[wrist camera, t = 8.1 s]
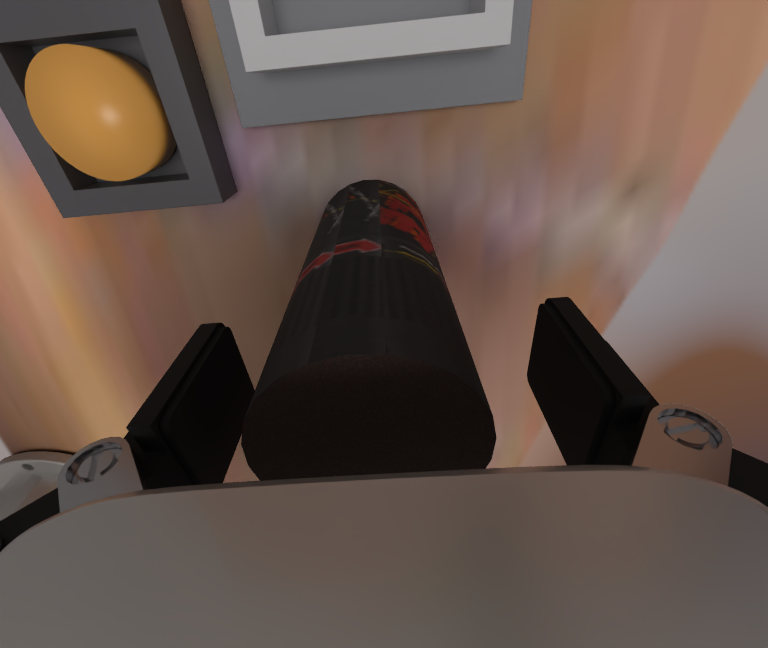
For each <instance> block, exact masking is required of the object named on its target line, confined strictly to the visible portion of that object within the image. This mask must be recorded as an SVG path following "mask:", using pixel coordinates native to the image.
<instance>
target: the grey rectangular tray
mask: <svg viewBox="0 0 768 648" xmlns="http://www.w3.org/2000/svg"><path fill="white" fill-rule="evenodd" d="M209 3H210V7H211V11H212V15H213V18H214V22H215V26H216V30H217V34H218V37H219V41H220V45H221V49H222V53H223V56H224V60H225V64H226V68H227V71H228V75H229V79H230V83H231V87H232V90H233V94H234V98H235V102H236V106H237V109H238V113H239V117H240V121H241V125H242V128H248V127H257V126H267V125H277V124H287V123H297V122H307V121H317V120H327V119H337V118H346V117H356V116H366V115H376V114H386V113H396V112H406V111H416V110H426V109H436V108H445V107H455V106H465V105H475V104H485V103H495V102H505V101H515V100H522V96H523V86H524V76H525V66H526V57H527V47H528V37H529V27H530V17H531V7H532V0H209Z"/></svg>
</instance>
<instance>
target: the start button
mask: <svg viewBox="0 0 768 648" xmlns="http://www.w3.org/2000/svg"><path fill="white" fill-rule="evenodd" d="M25 95H26V100H27V105H28V108H29V111H30V114H31V116H32V118H33V120H34V123H35V125H36V126H37V128H38V130H39V131H40V133H41V135H42V136H43V137H44V139H45V140H46V141H47V143H48V144H49V145H50V146H51V147H52V148H53V150H54V151H55V152H57V153H58V154H59V155H60V156H61V157H62V158H63V159H64V160H65V161H67V162H68V163H69V164H71V165H72V166H74V167H75V168H77V169H78V170H80V171H82V172H84V173H86V174H88V175H90V176H93V177H96V178H99V179H103V180H107V181H125V180H130V179H133V178H135V177H138V176H140V175H143V174H145V173H148V172H150V171H153V170H155V169H157V168H159V167H161V166H163V165H164V164H165V163H166V162H167V161H168V160H169V159H170V157H171V156H172V154H173V152H174V150H175V147H176V140H175V137H174V135H173V132H172V129H171V126H170V123H169V121H168V118H167V115H166V112H165V109H164V107H163V104H162V101H161V98H160V96H159V93H158V90H157V87H156V84H155V82H154V79H153V76H152V74H151V73H150V72H149V71H148V70H147V69H145V68H144V67H143V66H142V65H141V64H139V63H138V62H137V61H135V60H134V59H132V58H130V57H128V56H127V55H125V54H122V53H120V52H118V51H114V50H111V49H105V48H97V47H89V46H81V45H73V44H58V45H53V46H50V47H47V48H45V49H43V50H42V51H40V52H39V53H38V54H37V55H36V56H35V57H34V58H33V59H32V61H31V62H30V64H29V66H28V69H27V72H26V77H25Z"/></svg>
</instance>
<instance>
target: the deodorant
mask: <svg viewBox="0 0 768 648" xmlns="http://www.w3.org/2000/svg"><path fill="white" fill-rule="evenodd" d="M495 442H496V433H495V426H494V420H493V415H492V412H491V410H490V407H489V404H488V401H487V398H486V395H485V393H484V390H483V387H482V384H481V381H480V378H479V376H478V373H477V370H476V367H475V364H474V361H473V359H472V356H471V353H470V350H469V347H468V344H467V342H466V339H465V336H464V333H463V330H462V327H461V325H460V322H459V319H458V316H457V313H456V310H455V308H454V305H453V302H452V299H451V296H450V293H449V291H448V288H447V285H446V282H445V279H444V276H443V274H442V271H441V268H440V265H439V262H438V259H437V257H436V254H435V251H434V248H433V245H432V242H431V240H430V237H429V234H428V231H427V228H426V225H425V223H424V220H423V217H422V214H421V212H420V210H419V208H418V206H417V204H416V202H415V201H414V200H413V199H412V198H411V197H410V196H409V195H408V193H407V192H406V191H404V190H403V189H401V188H399V187H398V186H396V185H394V184H392V183H388V182H384V181H381V180H363V181H360V182H356V183H353V184H350V185H348V186H347V187H345V188H344V189H342V190H340V191H339V192H338V193H337V194H336V195H335V196H334V197H333V198H332V199H331V201H330V202H329V203H328V205H327V207H326V209H325V211H324V214H323V216H322V218H321V221H320V224H319V226H318V229H317V231H316V234H315V237H314V239H313V242H312V244H311V247H310V250H309V252H308V255H307V257H306V260H305V262H304V265H303V268H302V270H301V273H300V275H299V278H298V281H297V283H296V286H295V288H294V291H293V294H292V296H291V299H290V301H289V304H288V307H287V309H286V312H285V314H284V317H283V320H282V322H281V325H280V327H279V330H278V332H277V335H276V338H275V340H274V343H273V345H272V348H271V351H270V353H269V356H268V358H267V361H266V364H265V366H264V369H263V371H262V374H261V377H260V379H259V382H258V384H257V387H256V390H255V392H254V395H253V397H252V400H251V402H250V405H249V408H248V410H247V413H246V415H245V418H244V421H243V429H242V442H241V445H242V448H243V451H244V454H245V457H246V460H247V463H248V466H249V467H250V468H251V469H252V471H253V472H254V473H255V475H256V476H257V477H258V479H259V480H260V481H265V480H282V479H299V478H316V477H334V476H353V475H371V474H390V473H409V472H428V471H448V470H469V469H485V468H486V467H487V465H488V464H489V462H490V461H491V459H492V455H493V450H494V446H495Z"/></svg>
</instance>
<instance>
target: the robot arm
mask: <svg viewBox="0 0 768 648" xmlns="http://www.w3.org/2000/svg"><path fill="white" fill-rule="evenodd" d="M527 378H528V383H529V385H530V387H531V389H532V392H533V394H534V396H535V398H536V400H537V402H538V404H539V407H540V409H541V411H542V413H543V415H544V417H545V419H546V421H547V424H548V426H549V428H550V430H551V432H552V434H553V436H554V439H555V440H556V443H557V445H558V447H559V449H560V451H561V453H562V456H563V458H564V460H565V462H566V464H567V465H566V466H538V467H537V466H536V467H511V468H490V469H469V470H448V471H428V472H409V473H390V474H371V475H353V476H334V477H316V478H299V479H282V480H265V481H248V482H231V483H223V481H224V478H225V475H226V473H227V470H228V468H229V465H230V463H231V460H232V457H233V455H234V452H235V450H236V447H237V445H238V442H239V440H240V437H241V434H242V429H243V421H244V418H245V415H246V413H247V410H248V408H249V405H250V402H251V400H252V397H253V395H254V392H255V390H254V387H253V385H252V382H251V380H250V377H249V375H248V372H247V369H246V367H245V364H244V362H243V359H242V357H241V354H240V352H239V349H238V346H237V344H236V341H235V339H234V336H233V334H232V331H231V329H230V328H229V327H225V325H224V324H223V323H210V324H201V325H200V326H199V328H198V329H197V330H196V332H195V333H194V334H193V336H192V337H191V339H190V340H189V341H188V343H187V344H186V346H185V347H184V348H183V350H182V351H181V352H180V354H179V355H178V357H177V358H176V359H175V361H174V362H173V364H172V365H171V366H170V368H169V369H168V370H167V372H166V373H165V375H164V376H163V377H162V379H161V380H160V381H159V383H158V384H157V386H156V387H155V388H154V390H153V391H152V393H151V394H150V395H149V397H148V398H147V399H146V401H145V402H144V404H143V405H142V406H141V408H140V409H139V411H138V412H137V413H136V415H135V416H134V417H133V419H132V420H131V422H130V423H129V424H128V426H127V427H126V428H127V429H128V431H129V432H128V433H127V435H126V436H125V437H124V439H123V438H121V437H109V438H104V439H101V440H98V441H96V442H93V443H91V444H89V445H88V446H86V447H84V448H82V449H81V450H79V451H78V452H77V453H76V454H74V455H70V454H65V453H59V452H47V451H36V452H25V453H19V454H14V455H12V456H9V457H7V458H4V459H3V460H2V461H0V648H768V463H765V462H763V461H761V460H758V459H756V458H754V457H752V456H749V455H747V454H745V453H742V452H740V451H737V450H735V449H733V448H732V439H731V436H730V434H729V433H728V431H727V430H726V428H725V427H724V426H723V425H722V424H720V423H719V422H718V421H717V420H716V419H714V418H713V417H711V416H710V415H708V414H707V413H705V412H702V411H700V410H698V409H696V408H693V407H689V406H686V405H682V404H672V403H668V404H661V405H659V403H658V402H657V401H656V400H655V399H654V397H653V396H652V395H651V394H650V393H649V391H648V390H647V389H646V388H645V387H644V385H643V384H642V383H641V382H640V381H639V379H638V378H637V377H636V376H635V375H634V373H633V372H632V371H631V370H630V369H629V367H628V366H627V365H626V364H625V363H624V361H623V360H622V359H621V358H620V357H619V355H618V354H617V353H616V352H615V351H614V350H613V348H612V347H611V346H610V345H609V343H608V342H606V341H605V340H604V339H603V338H602V336H601V335H600V334H599V333H598V331H597V330H596V329H595V328H594V327H593V325H592V324H591V323H590V322H589V321H588V319H587V318H586V317H585V316H584V315H583V313H582V312H581V311H580V310H579V308H578V307H577V306H576V305H575V304H574V302H573V301H572V300H571V299H570V298H569V297H560V298H548V299H546V301H545V304H540V305H539V308H538V314H537V319H536V325H535V331H534V337H533V342H532V348H531V354H530V360H529V365H528V371H527Z"/></svg>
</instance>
